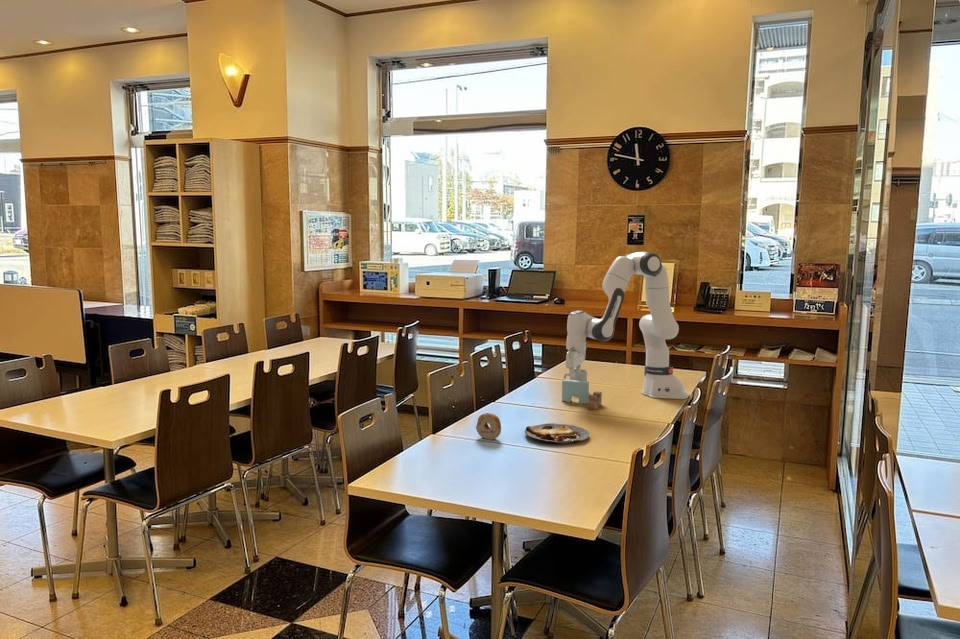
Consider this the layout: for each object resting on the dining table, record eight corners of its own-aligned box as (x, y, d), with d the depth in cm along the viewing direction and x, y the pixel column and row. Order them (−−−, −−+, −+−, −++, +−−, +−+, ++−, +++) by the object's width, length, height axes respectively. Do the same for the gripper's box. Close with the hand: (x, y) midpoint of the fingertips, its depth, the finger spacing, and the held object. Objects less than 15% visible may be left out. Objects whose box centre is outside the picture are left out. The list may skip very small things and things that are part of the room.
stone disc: (503, 439, 266) (503, 414, 265) (497, 441, 263) (498, 416, 262) (480, 435, 272) (480, 410, 270) (475, 437, 269) (475, 412, 267)
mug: (589, 391, 346) (589, 369, 345) (583, 395, 339) (583, 373, 338) (566, 388, 352) (567, 367, 351) (560, 392, 345) (560, 370, 343)
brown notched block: (595, 403, 321) (595, 391, 320) (601, 404, 320) (601, 391, 319) (588, 409, 310) (588, 396, 310) (594, 410, 309) (595, 397, 308)
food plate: (536, 447, 255) (536, 438, 255) (516, 431, 278) (516, 422, 277) (598, 444, 262) (598, 435, 262) (574, 428, 284) (574, 419, 284)
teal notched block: (588, 402, 324) (588, 381, 323) (586, 403, 321) (587, 382, 320) (563, 399, 329) (564, 379, 328) (561, 401, 326) (562, 380, 325)
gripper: (576, 349, 311) (575, 379, 313) (588, 343, 329) (587, 371, 331) (562, 348, 313) (561, 378, 315) (575, 342, 332) (574, 370, 334)
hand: (574, 374), depth 323 cm, fingers open, 8 cm apart
